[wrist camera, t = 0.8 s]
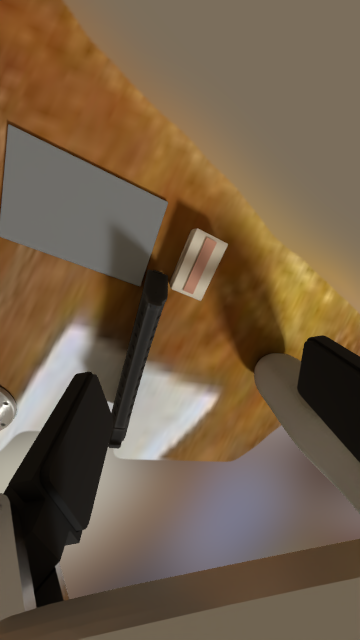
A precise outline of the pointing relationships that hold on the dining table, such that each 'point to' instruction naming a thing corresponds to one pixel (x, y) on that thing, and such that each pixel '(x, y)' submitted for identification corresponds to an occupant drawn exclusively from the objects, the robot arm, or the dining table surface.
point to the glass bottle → (306, 424)
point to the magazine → (138, 352)
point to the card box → (197, 264)
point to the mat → (76, 210)
